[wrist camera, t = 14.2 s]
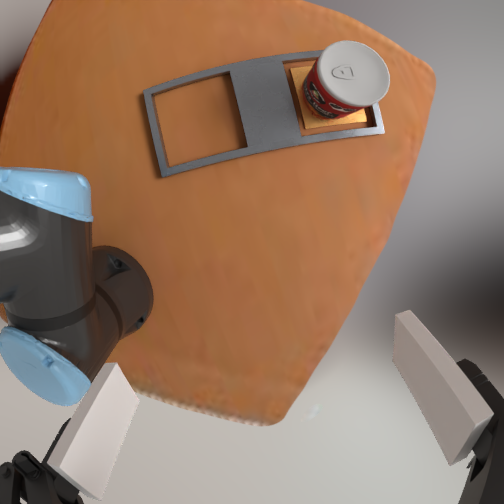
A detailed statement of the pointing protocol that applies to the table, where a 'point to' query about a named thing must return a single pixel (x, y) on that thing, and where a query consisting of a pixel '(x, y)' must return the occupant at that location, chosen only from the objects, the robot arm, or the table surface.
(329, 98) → the canned food
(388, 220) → the table surface
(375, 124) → the rail frame
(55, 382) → the robot arm
